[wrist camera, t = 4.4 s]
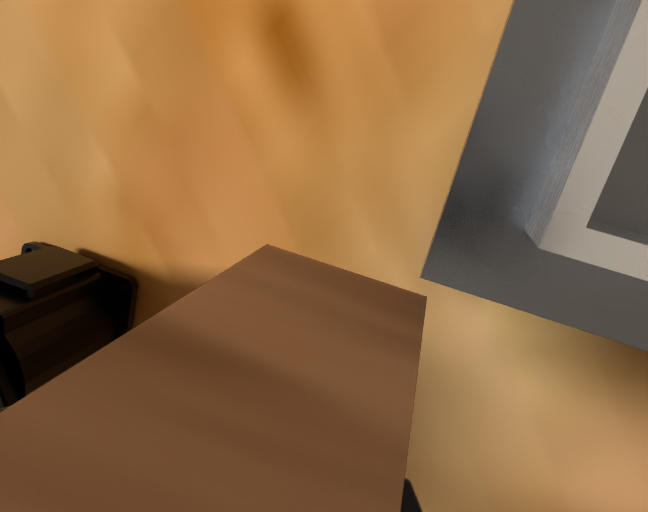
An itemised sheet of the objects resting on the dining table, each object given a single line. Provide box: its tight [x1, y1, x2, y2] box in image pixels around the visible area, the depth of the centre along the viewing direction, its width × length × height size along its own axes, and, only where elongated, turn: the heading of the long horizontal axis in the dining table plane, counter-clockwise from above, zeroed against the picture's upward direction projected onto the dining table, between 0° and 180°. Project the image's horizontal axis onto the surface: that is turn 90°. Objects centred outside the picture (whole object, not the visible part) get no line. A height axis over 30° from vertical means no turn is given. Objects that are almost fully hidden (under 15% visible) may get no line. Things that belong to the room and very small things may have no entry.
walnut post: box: [0, 244, 427, 512], centre depth 7 cm, size 4×4×10 cm
